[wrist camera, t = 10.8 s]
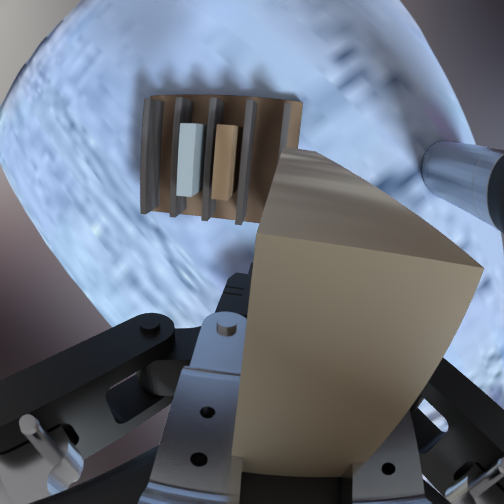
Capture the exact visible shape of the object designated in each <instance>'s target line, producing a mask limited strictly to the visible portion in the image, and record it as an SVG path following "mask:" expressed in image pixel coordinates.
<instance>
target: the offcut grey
mask: <svg viewBox="0 0 504 504" xmlns="http://www.w3.org/2000/svg"><path fill="white" fill-rule="evenodd" d="M206 137H207V125H204V124H195V123H180V133H179V148H178V166H177V192H176V196H186V197H192V196H194V195H195V194H197V193H198V192H200V191H201V190H203V180H204V164H205V150H206Z"/></svg>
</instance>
